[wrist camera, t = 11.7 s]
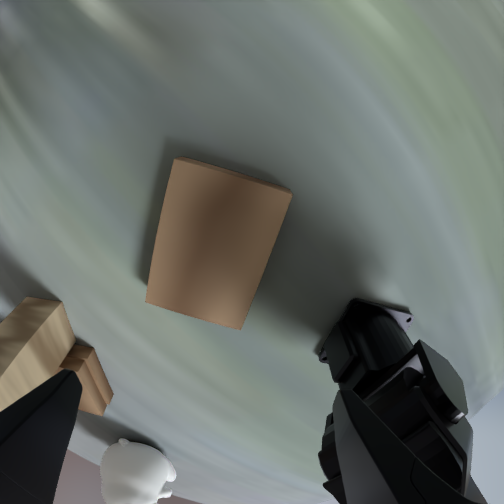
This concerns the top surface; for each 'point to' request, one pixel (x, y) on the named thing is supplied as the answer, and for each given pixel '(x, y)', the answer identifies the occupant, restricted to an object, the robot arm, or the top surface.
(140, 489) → the figurine
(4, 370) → the upright offcut
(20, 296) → the top surface
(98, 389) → the plank stack
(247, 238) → the loose offcut
